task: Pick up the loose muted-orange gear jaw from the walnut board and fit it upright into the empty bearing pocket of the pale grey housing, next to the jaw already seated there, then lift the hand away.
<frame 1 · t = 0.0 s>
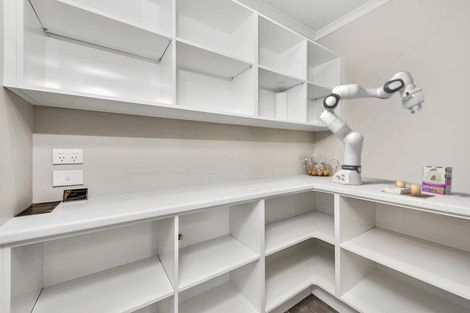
hand: (416, 112, 131), 52 cm above the worktop, tool tilted 20°, fingers open, 8 cm apart
candy bar box: (435, 194, 111), on the worktop
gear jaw: (415, 195, 103), point 1 cm above the worktop, touching assembly board
housing: (398, 191, 112), resting on assembly board
assembly board: (406, 195, 109), on the worktop
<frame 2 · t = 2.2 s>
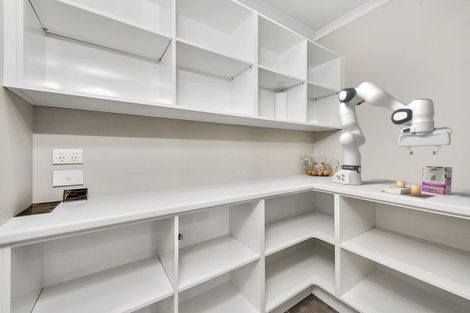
hand: (422, 154, 103), 23 cm above the worktop, tool pointing down, fingers open, 8 cm apart
nothing on the worktop moved.
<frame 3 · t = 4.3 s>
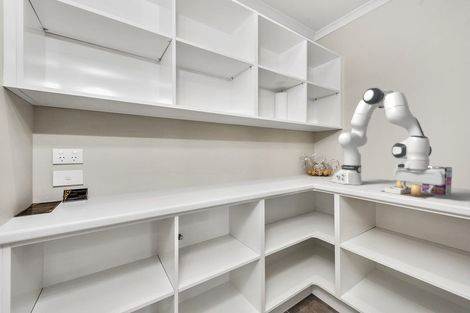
hand: (416, 191, 103), 4 cm above the worktop, tool pointing down, fingers open, 8 cm apart
nothing on the worktop moved.
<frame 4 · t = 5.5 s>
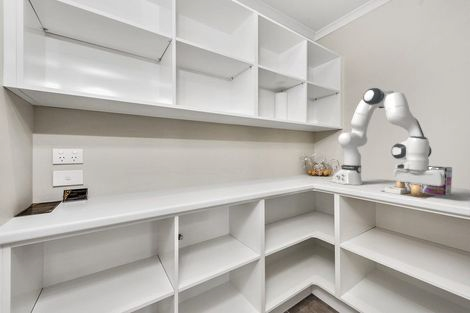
hand: (416, 191, 103), 3 cm above the worktop, tool pointing down, fingers closed on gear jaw, 4 cm apart
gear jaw: (415, 195, 103), point 1 cm above the worktop, touching assembly board, gripper
everything else where it was.
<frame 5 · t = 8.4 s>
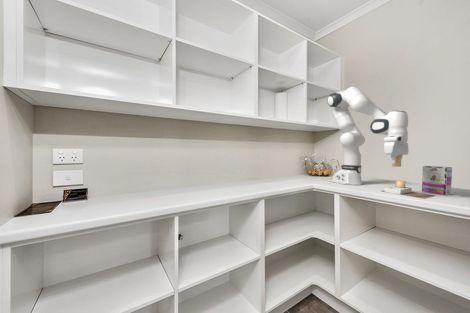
hand: (396, 162, 110), 18 cm above the worktop, tool pointing down, fingers closed on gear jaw, 4 cm apart
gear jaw: (396, 166, 110), point 16 cm above the worktop, touching gripper
everything else where it was.
when the fingers open (5 cm above the worktop, at t = 11.5 s): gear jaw drops 1 cm, resting on housing.
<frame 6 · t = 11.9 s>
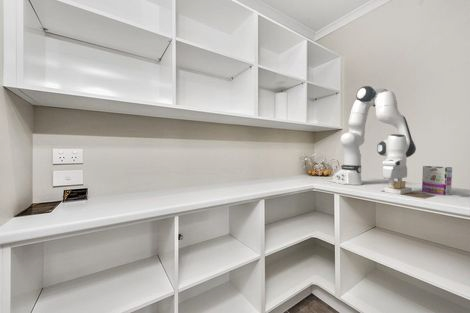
hand: (395, 185, 111), 5 cm above the worktop, tool pointing down, fingers open, 6 cm apart
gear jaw: (395, 192, 111), point 1 cm above the worktop, touching housing
everything else where it was.
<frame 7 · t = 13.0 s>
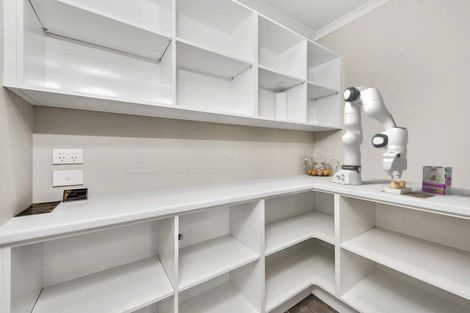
hand: (394, 178, 111), 9 cm above the worktop, tool pointing down, fingers open, 8 cm apart
nothing on the worktop moved.
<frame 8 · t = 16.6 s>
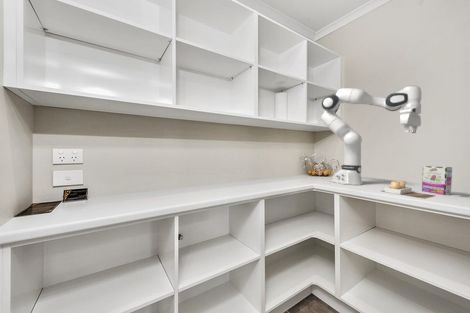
hand: (410, 132, 124), 37 cm above the worktop, tool pointing down, fingers open, 8 cm apart
nothing on the worktop moved.
at the end: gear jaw 0.0 cm from the target spot on the housing, point 0.2 cm above the housing's base; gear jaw tilted 0°; the gripper is holding nothing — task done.
